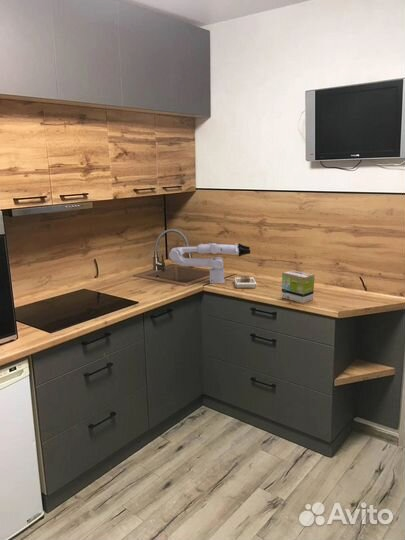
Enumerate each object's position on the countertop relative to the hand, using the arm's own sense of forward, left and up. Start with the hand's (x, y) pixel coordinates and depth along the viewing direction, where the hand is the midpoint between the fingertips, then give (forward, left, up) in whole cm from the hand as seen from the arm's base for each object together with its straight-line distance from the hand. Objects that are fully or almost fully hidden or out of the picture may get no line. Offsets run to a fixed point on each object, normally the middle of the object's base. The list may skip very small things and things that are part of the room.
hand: (249, 250), depth 291 cm
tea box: (+22, -39, -21) cm, 50 cm away
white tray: (-4, -10, -21) cm, 23 cm away
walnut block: (-4, -10, -20) cm, 23 cm away
